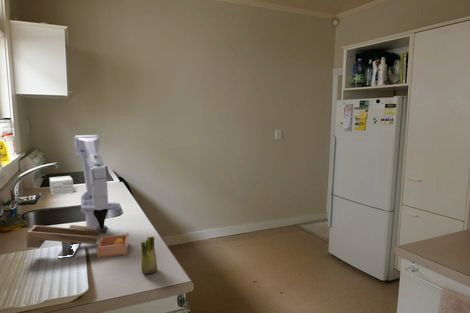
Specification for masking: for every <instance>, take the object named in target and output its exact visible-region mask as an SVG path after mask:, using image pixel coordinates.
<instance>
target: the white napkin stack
mask: <svg viewBox="0 0 470 313" xmlns="http://www.w3.org/2000/svg"><path fill="white" fill-rule="evenodd" d="M48 179H49V190H50V195H51V196H58V195H67V194H74V180H73V178H72V177H71V175H64V176H52V177H49V178H48Z"/></svg>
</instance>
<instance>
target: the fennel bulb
mask: <svg viewBox="0 0 470 313" xmlns="http://www.w3.org/2000/svg"><path fill="white" fill-rule="evenodd" d="M140 244H141V245H140V246H141V264H140V267H141V268H140V269H141V272H142V274H144V275H147V274H148V275H149V274H154V273H155V272H157V269H158V264H157V262H158V261H157V254H156V249H155V236H154V235H153V236H147V238H146V239H145V240H142V241H141V242H140Z"/></svg>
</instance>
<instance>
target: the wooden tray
mask: <svg viewBox="0 0 470 313" xmlns="http://www.w3.org/2000/svg"><path fill="white" fill-rule="evenodd" d="M107 232H108V226H106V227H104V228H100V226H97V227H87V226H86V225H77V224H75V225H74V224H73V225H72V224H70V226H69V227H59V226H58V227H57V226H47V225H35V224H34V225H32V226H31V228H29V229H28V230H27V231H26V237H25V239H26V240H27V241H26V242H27V243H26V248H34V249H35V248H36V249H39V248H41V246H43V244H44V243H45V242H47V241H49V242H61V243H62V242H72V243H81V244H88V245H96V244H97V243H98V240H99V238H100V234H101V235H106V234H107Z"/></svg>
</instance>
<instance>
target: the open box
mask: <svg viewBox="0 0 470 313" xmlns="http://www.w3.org/2000/svg"><path fill="white" fill-rule="evenodd" d="M119 238H121V239H123V240H124V242H125V243H124V244H119V245H114V241H115V240H116V239H119ZM129 245H130V244H129V232H126V234H119V235H117V234H116V235H105V236H102V237H101V238H100V240H99V242H98V245H97V247H96V253H97V254H96V256H97V258H98V259H100V258H106V257H115V256H116V257H117V256H122V255H123V256H127V253H128V249H129Z"/></svg>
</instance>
